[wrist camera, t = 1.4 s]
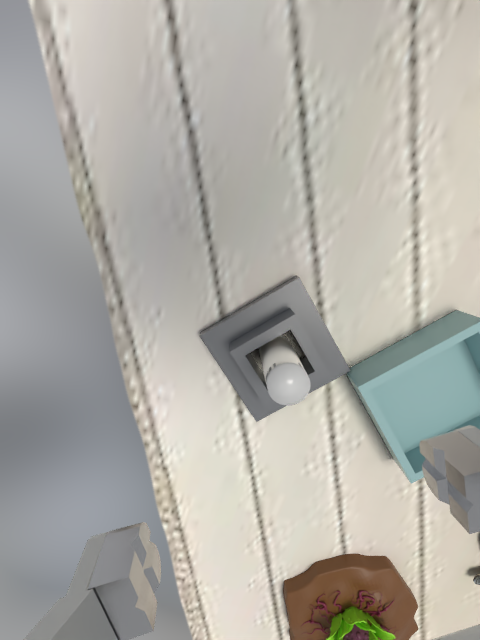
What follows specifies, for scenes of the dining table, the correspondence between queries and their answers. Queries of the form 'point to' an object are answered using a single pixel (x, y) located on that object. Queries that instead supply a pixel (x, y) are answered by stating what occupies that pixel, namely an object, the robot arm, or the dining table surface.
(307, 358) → the grey square socket
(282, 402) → the cylinder
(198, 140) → the dining table surface
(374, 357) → the parts tray
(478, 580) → the salad plate
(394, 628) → the plant
